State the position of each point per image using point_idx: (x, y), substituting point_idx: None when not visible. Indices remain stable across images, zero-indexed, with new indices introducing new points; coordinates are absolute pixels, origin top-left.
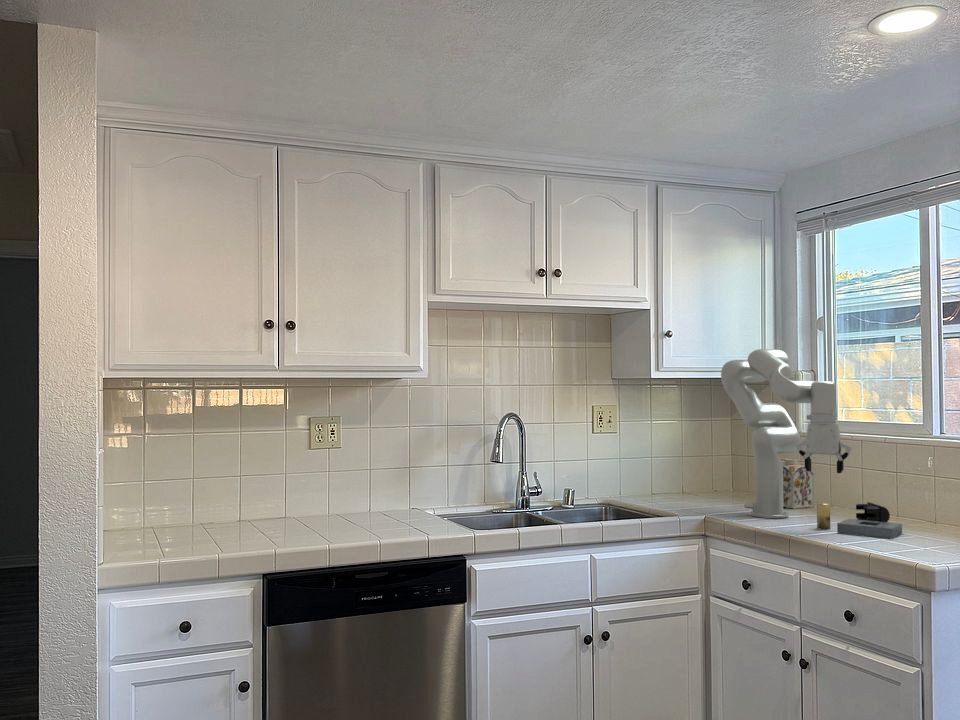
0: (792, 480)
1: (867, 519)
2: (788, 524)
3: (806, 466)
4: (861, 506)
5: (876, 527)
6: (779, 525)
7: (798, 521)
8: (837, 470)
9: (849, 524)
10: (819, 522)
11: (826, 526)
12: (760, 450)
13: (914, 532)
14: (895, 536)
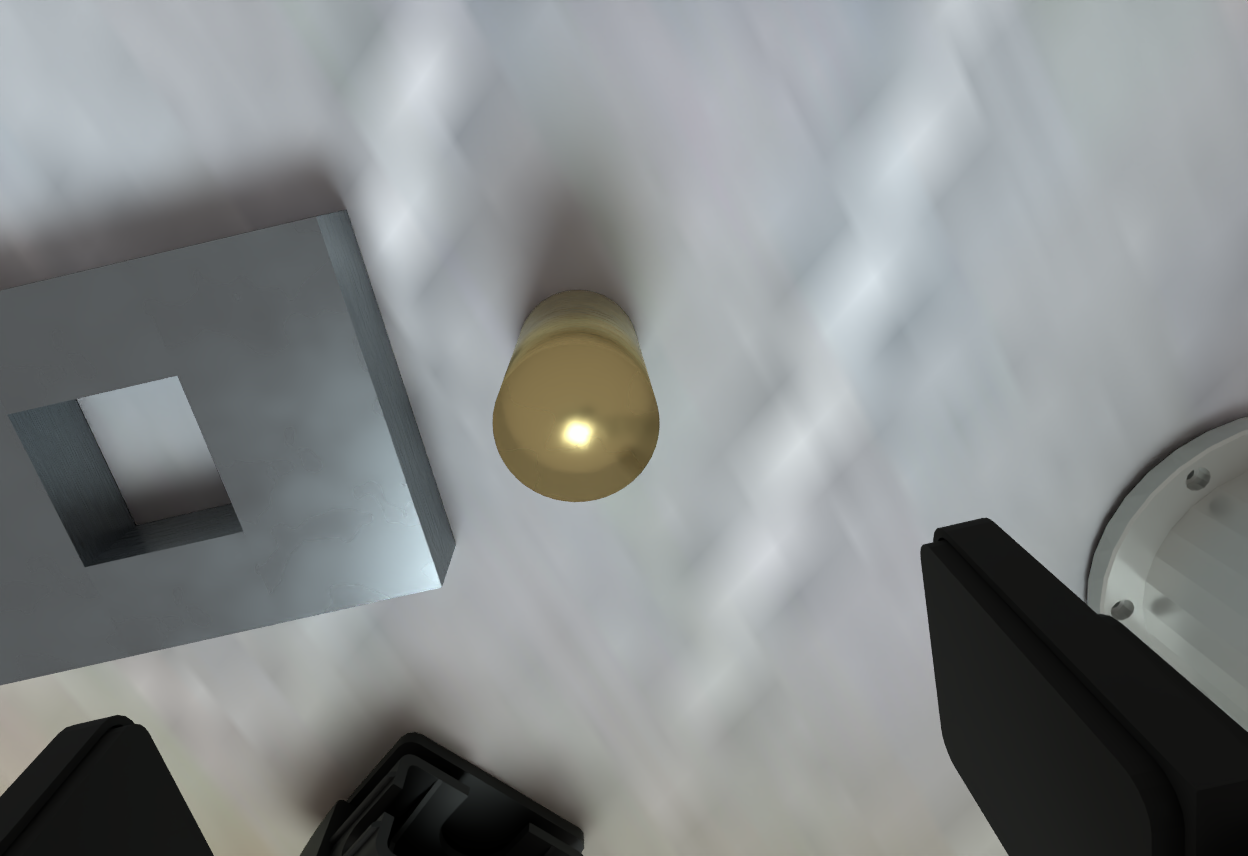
0: None
1: (402, 771)
2: (920, 290)
3: (1042, 579)
4: None
5: None
6: (958, 160)
7: (928, 513)
8: (69, 757)
9: (193, 252)
10: (587, 301)
11: (526, 320)
12: None
13: (23, 748)
14: None
